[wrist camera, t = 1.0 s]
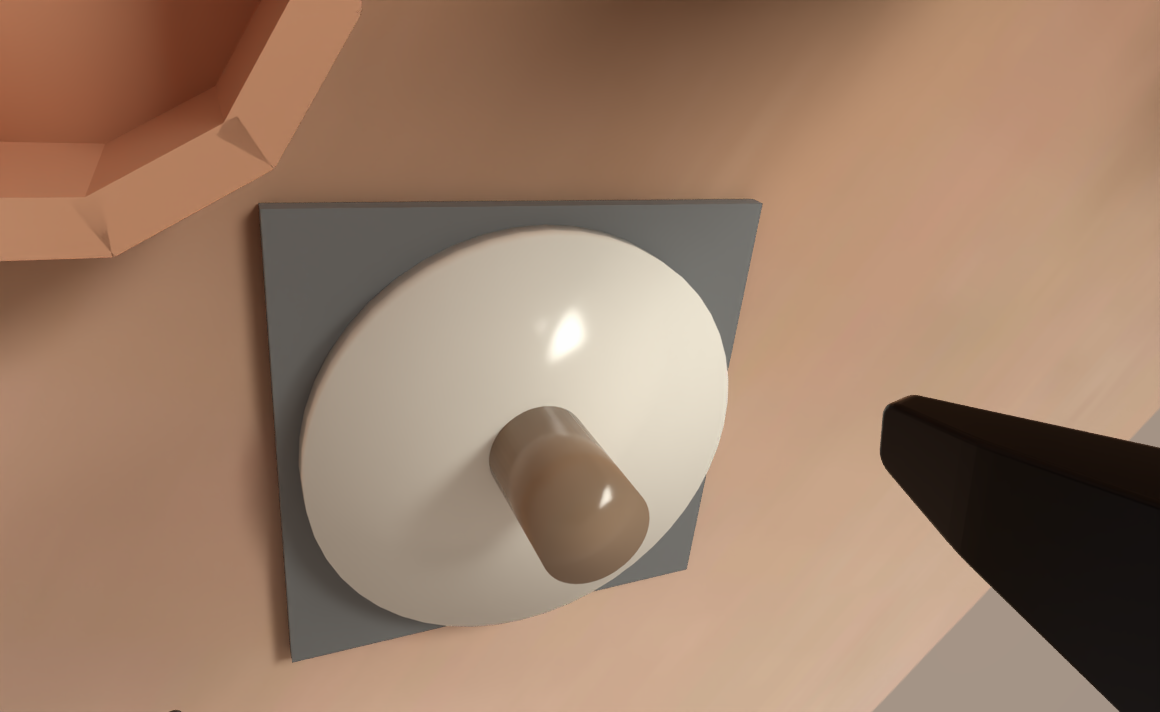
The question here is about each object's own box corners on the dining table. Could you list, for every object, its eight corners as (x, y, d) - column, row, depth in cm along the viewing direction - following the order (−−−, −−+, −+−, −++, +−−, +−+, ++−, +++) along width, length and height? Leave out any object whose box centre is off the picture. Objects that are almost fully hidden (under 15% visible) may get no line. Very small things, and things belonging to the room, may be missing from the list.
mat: (752, 199, 24) (762, 203, 23) (679, 560, 30) (686, 569, 29) (258, 202, 18) (260, 209, 18) (290, 650, 24) (292, 662, 24)
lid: (745, 219, 23) (862, 278, 19) (676, 561, 29) (756, 661, 25) (285, 229, 18) (313, 313, 14) (308, 645, 24) (334, 790, 20)
